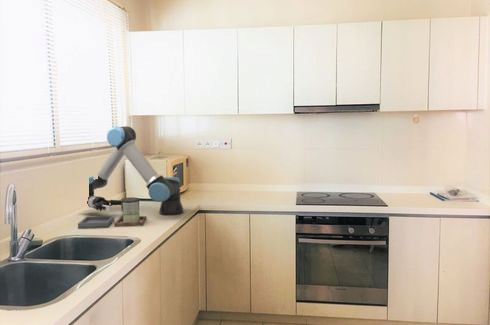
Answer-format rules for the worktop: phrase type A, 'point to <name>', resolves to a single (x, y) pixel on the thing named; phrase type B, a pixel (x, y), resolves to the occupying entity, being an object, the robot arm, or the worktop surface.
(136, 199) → the coffee can
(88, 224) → the gray tray
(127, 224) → the walnut holder
